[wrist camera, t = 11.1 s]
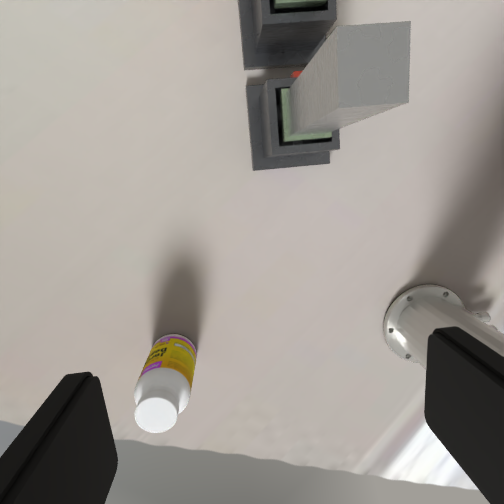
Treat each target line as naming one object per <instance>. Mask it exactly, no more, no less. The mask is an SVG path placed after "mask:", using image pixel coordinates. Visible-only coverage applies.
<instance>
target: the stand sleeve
mask: <svg viewBox="0 0 504 504" xmlns="http://www.w3.org/2000/svg"><path fill="white" fill-rule="evenodd" d="M301 72H302V71H294V72H293V73H292V75H291V78H281V79H268V80H266V82H265V84H264V85H252V86H246V97H247V109H248V120H249V132H250V143H251V154H252V166H253V171H255V170H265V169H276V168H287V167H297V166H308V165H319V164H329V163H330V156H329V151H333V150H338V149H340V140H339V129H337V130H335V131H332V137H330V138H322V139H311V140H300V141H289V142H283V135H282V120H281V104H280V90H281V89H287V88H290V87H291V86H292V84H293V83H294V82H295V80H296V79H297V78H298V76H299V75H300V74H301Z"/></svg>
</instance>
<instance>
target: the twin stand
mask: <svg viewBox="0 0 504 504" xmlns="http://www.w3.org/2000/svg"><path fill="white" fill-rule="evenodd" d="M238 6H239V18H240V29H241V40H242V52H243V63H244V70H254V69H267V68H280V67H293V66H305V65H308V63H309V62H310V61H311V59H312V58H313V57H314V55H315V54H316V53H317V52H318V50H319V49H320V48H321V46H322V45H323V44H324V42H325V41H326V33H327V32H328V30H329V29H330V28H331V26H332V25H333V23H334V22H335V21H336V19H337V17H336V0H238Z"/></svg>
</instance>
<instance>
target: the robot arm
mask: <svg viewBox="0 0 504 504" xmlns="http://www.w3.org/2000/svg"><path fill="white" fill-rule="evenodd" d="M490 319H491V318H490V315H489V314H488V313H487V312H483V313H477V314H474V313H472V312H470V311H468V310H467V309H465V308H464V305H463V303H462V301H461V299H460V298H459V297H458V296H457V295H456V294H455V293H453V292H452V291H450V290H448V289H446V288H444V287H442V286H438V285H430V284H427V285H420V286H417V287H413V288H411V289H409V290H407V291H405V292H404V293H403V294H401V295H400V296H399V297H398V298H397V299H396V300H395V301H394V302H393V303H392V305H391V306H390V308H389V309H388V311H387V314H386V316H385V320H384V326H383V332H384V337H385V340H386V343H387V344H388V346H389V347H390V349H391V350H392V351H393V352H394V353H395V354H396V355H397V356H399V357H400V358H402V359H404V360H406V361H409V362H414V363H419V364H420V365H421V366H422V367H423V368H425V369H426V388H425V410H424V413H425V419H426V422H427V424H428V426H429V427H430V429H431V430H432V431H433V433H434V434H435V435H436V436H437V438H438V439H439V440H440V441H441V443H442V444H443V445H444V446H445V448H446V449H447V450H448V451H449V453H450V454H451V455H452V456H453V458H454V459H455V460H456V461H457V463H458V464H459V465H460V466H461V468H462V469H463V470H464V471H465V473H466V474H467V475H468V476H469V478H470V479H471V480H472V481H473V483H474V484H475V485H476V486H477V488H478V489H479V490H480V491H481V493H482V494H483V495H484V496H485V498H486V499H487V500H488V501H489V503H490V504H504V334H503V333H501V332H500V331H498V330H497V328H496V327H495V326H493V325H487V324H486V323H484V322H489V321H490ZM117 462H118V457H117V452H116V448H115V444H114V439H113V435H112V430H111V426H110V422H109V418H108V413H107V409H106V405H105V401H104V396H103V392H102V388H101V384H100V380H99V378H98V377H97V376H94V377H93V375H92V374H91V372H82V373H74V374H68V375H66V376H64V377H63V379H62V380H61V381H60V383H59V384H58V385H57V386H56V388H55V389H54V390H53V391H52V393H51V394H50V395H49V397H48V398H47V399H46V400H45V402H44V403H43V404H42V405H41V407H40V408H39V409H38V410H37V412H36V413H35V414H34V416H33V417H32V418H31V419H30V421H29V422H28V423H27V424H26V426H25V427H24V428H23V430H22V431H21V432H20V433H19V435H18V436H17V437H16V438H15V440H14V441H13V442H12V444H11V445H10V446H9V447H8V449H7V450H6V451H5V452H4V454H3V455H2V456H1V458H0V504H105V501H106V498H107V495H108V493H109V490H110V487H111V484H112V482H113V479H114V476H115V474H116V470H117V464H118V463H117Z"/></svg>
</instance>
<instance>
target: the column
mask: <svg viewBox="0 0 504 504" xmlns="http://www.w3.org/2000/svg"><path fill="white" fill-rule="evenodd" d="M410 25H411V21H405V22H391V23H377V24H363V25H349V26H337V27H336V28H335V29H334V31H333V32H332V33H331V35H330V36H329V37H328V38H327V40H326V41H325V42H324V44H323V45H322V46H321V48H320V49H319V50H318V52H317V53H316V54H315V55H314V57H313V58H312V59H311V61H310V62H309V63H308V65H307V66H306V67H305V69H304V70H303V71H302V72H301V74H300V75H299V76H298V78H297V79H296V80H295V82H294V83H293V84H292V86H291V87H290V88H287V89H281V90H280V104H281V120H282V135H283V142H289V141H300V140H311V139H322V138H330V137H332V131H335V130H337V129H340V128H342V127H345V126H348V125H350V124H353V123H356V122H358V121H361V120H363V119H366V118H369V117H371V116H374V115H377V114H379V113H382V112H385V111H387V110H390V109H392V108H395V107H398V106H400V105H403V104H406V103H408V102H409V66H410Z"/></svg>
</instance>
